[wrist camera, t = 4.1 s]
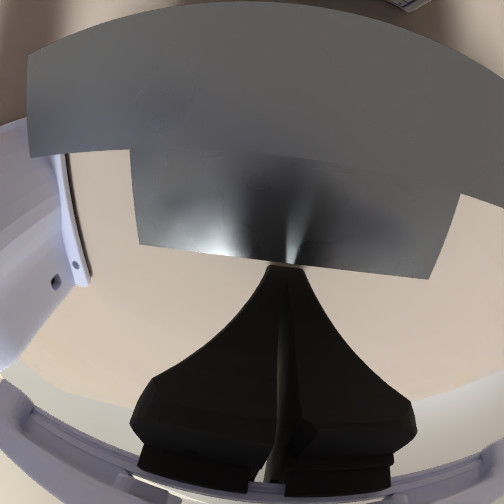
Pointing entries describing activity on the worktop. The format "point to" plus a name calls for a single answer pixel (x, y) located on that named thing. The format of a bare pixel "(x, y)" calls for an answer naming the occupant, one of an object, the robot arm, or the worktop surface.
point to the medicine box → (409, 4)
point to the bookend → (278, 130)
